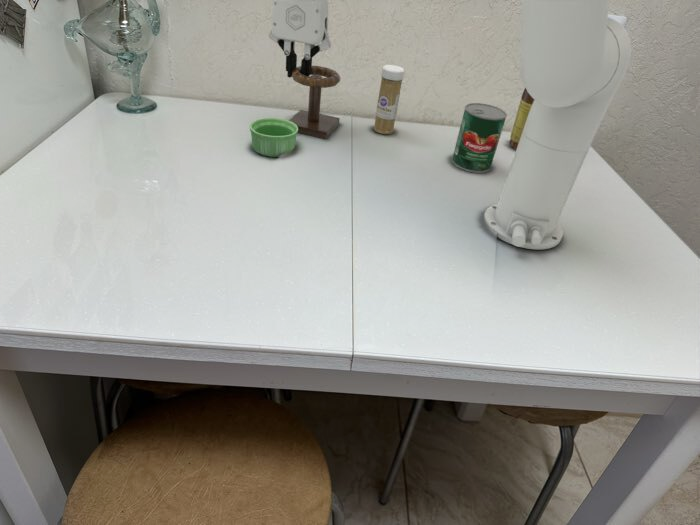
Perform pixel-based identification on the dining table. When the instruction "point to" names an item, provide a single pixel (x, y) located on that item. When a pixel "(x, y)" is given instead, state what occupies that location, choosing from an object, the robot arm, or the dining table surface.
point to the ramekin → (273, 136)
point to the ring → (330, 81)
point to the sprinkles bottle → (388, 98)
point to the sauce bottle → (521, 118)
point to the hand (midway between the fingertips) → (298, 76)
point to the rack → (315, 117)
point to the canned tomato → (478, 137)
